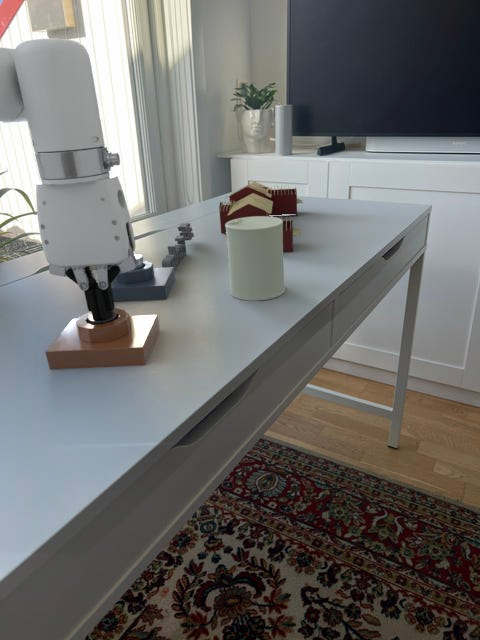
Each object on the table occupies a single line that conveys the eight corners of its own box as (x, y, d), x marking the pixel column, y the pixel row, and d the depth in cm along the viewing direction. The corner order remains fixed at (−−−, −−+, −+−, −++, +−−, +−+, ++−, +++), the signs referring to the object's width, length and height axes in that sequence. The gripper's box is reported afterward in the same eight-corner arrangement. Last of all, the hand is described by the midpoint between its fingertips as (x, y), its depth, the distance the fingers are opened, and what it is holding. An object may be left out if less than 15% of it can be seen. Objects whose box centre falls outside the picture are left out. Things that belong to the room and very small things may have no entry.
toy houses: (232, 212, 141) (229, 177, 137) (302, 209, 139) (301, 173, 135) (209, 256, 101) (205, 207, 97) (307, 252, 98) (307, 203, 94)
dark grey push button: (87, 336, 61) (83, 322, 60) (95, 325, 64) (92, 310, 63) (115, 335, 60) (112, 320, 60) (121, 323, 64) (119, 309, 63)
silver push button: (120, 272, 80) (118, 260, 79) (125, 266, 83) (123, 254, 83) (141, 271, 80) (139, 259, 79) (146, 265, 83) (144, 253, 82)
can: (233, 282, 84) (228, 214, 80) (285, 281, 83) (284, 212, 78) (226, 301, 76) (220, 227, 71) (284, 300, 75) (282, 224, 70)
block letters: (188, 241, 113) (185, 217, 111) (194, 241, 113) (192, 217, 110) (163, 275, 90) (159, 246, 88) (171, 275, 90) (167, 246, 88)
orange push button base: (49, 369, 59) (41, 336, 57) (76, 334, 68) (70, 305, 66) (145, 365, 58) (140, 332, 57) (159, 330, 68) (155, 301, 66)
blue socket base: (94, 303, 79) (89, 277, 77) (110, 283, 88) (106, 259, 86) (166, 299, 79) (163, 273, 77) (175, 279, 88) (172, 256, 86)
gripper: (146, 159, 57) (165, 301, 64) (23, 167, 58) (56, 307, 65) (131, 165, 50) (155, 325, 57) (-8, 175, 51) (34, 331, 58)
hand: (103, 315), depth 61 cm, fingers closed
